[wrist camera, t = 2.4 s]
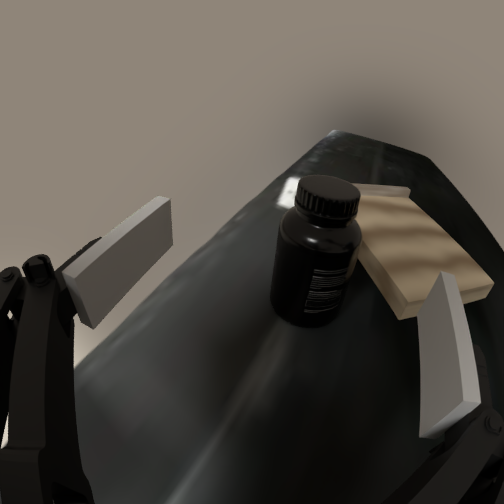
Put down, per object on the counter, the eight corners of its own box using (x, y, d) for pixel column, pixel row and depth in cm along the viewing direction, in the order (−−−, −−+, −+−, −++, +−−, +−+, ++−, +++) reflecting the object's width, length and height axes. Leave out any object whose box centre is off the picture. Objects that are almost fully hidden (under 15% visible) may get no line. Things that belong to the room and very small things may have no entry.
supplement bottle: (343, 291, 30) (377, 183, 23) (330, 340, 25) (374, 219, 18) (281, 272, 32) (298, 163, 25) (257, 316, 27) (272, 191, 20)
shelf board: (485, 297, 30) (499, 273, 28) (398, 320, 27) (414, 290, 25) (400, 206, 49) (406, 186, 46) (319, 205, 46) (323, 181, 43)
